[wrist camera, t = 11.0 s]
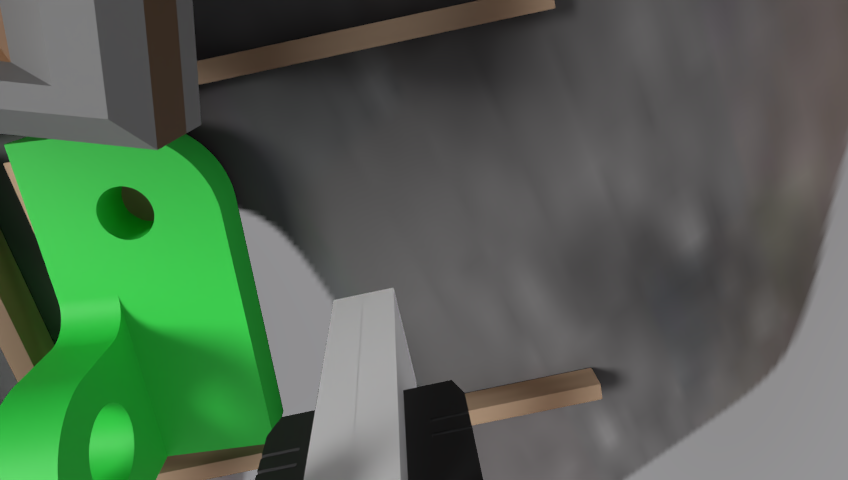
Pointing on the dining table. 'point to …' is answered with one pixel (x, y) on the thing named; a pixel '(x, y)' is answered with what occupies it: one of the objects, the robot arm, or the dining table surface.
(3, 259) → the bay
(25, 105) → the sailing ship
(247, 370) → the mechanical part
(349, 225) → the dining table surface
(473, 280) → the dining table surface
